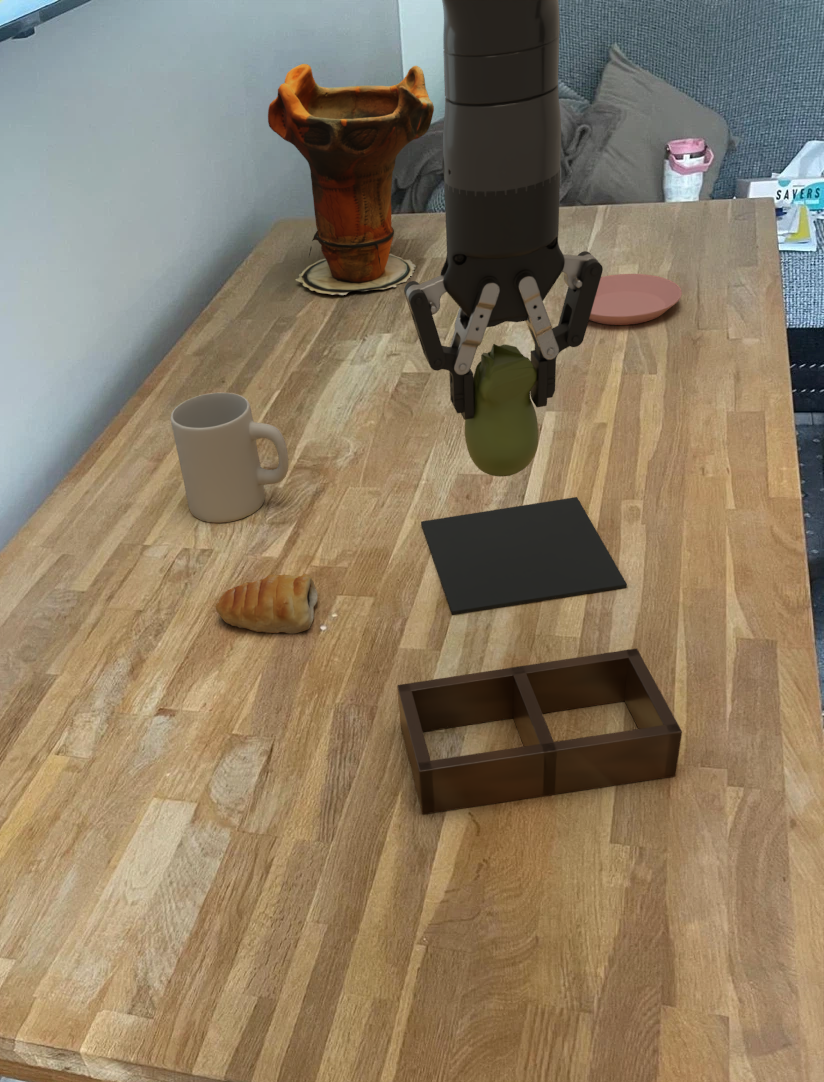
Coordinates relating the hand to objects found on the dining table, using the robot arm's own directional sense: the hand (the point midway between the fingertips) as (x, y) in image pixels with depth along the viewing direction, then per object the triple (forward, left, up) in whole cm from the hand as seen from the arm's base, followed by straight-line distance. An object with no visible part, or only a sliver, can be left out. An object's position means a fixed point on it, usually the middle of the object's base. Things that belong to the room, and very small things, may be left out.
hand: (502, 407), depth 83 cm
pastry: (+20, -8, -21) cm, 30 cm away
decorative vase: (0, -93, -21) cm, 95 cm away
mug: (+22, -30, -21) cm, 42 cm away
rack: (+1, +15, -21) cm, 26 cm away
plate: (-31, -65, -21) cm, 75 cm away
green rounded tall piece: (0, 0, -6) cm, 6 cm away
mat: (-4, -12, -21) cm, 24 cm away
